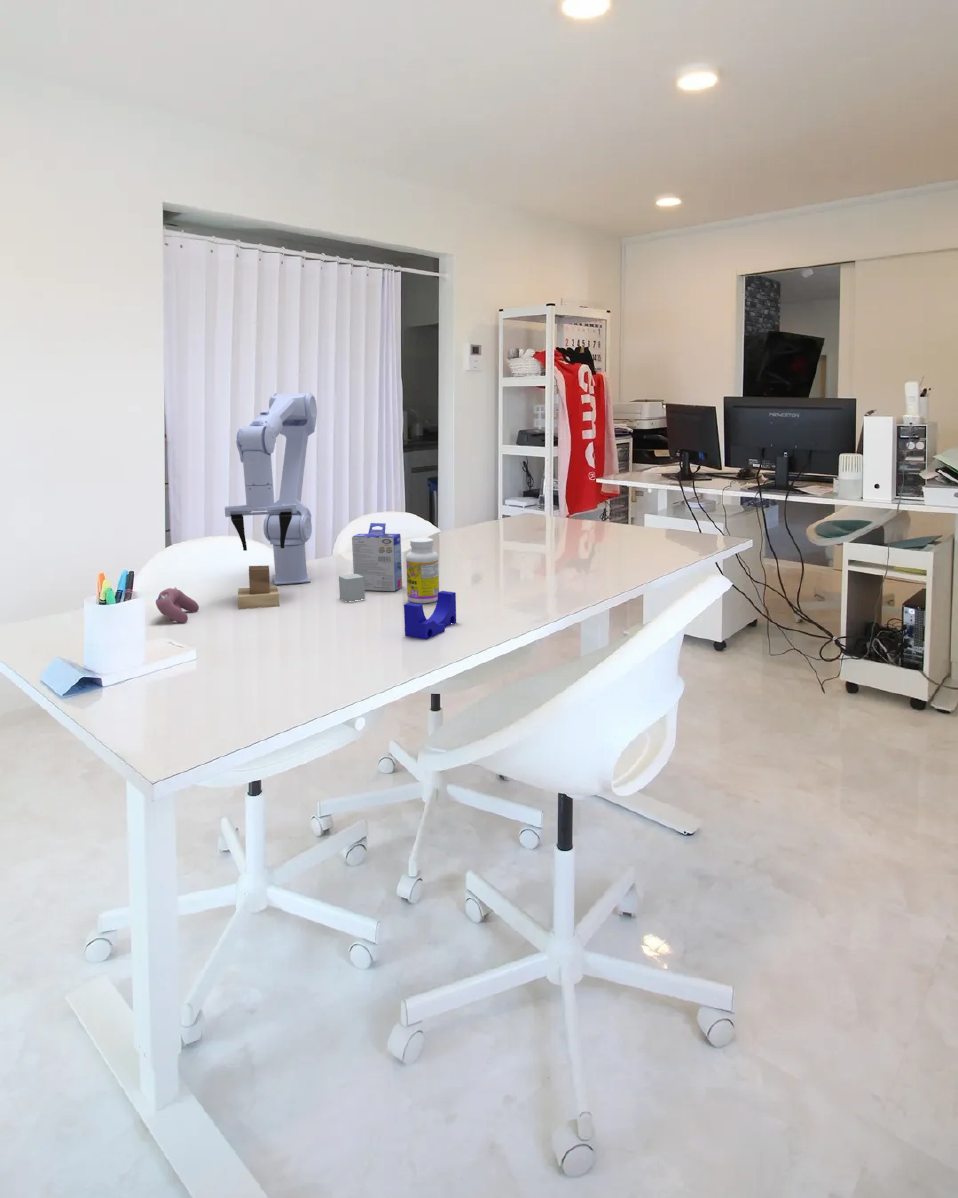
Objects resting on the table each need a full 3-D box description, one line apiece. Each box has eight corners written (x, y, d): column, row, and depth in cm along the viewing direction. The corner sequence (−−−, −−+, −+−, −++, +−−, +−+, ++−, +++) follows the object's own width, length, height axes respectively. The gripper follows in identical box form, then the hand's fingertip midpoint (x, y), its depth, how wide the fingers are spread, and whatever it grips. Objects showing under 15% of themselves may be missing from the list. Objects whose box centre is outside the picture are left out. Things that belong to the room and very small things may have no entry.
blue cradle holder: (425, 640, 142) (424, 607, 140) (405, 637, 144) (403, 604, 143) (462, 624, 152) (462, 593, 150) (443, 621, 154) (442, 590, 152)
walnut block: (249, 589, 169) (248, 565, 168) (269, 588, 170) (268, 565, 169) (249, 593, 165) (248, 569, 164) (269, 593, 166) (269, 569, 165)
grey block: (340, 598, 172) (338, 575, 171) (357, 596, 174) (356, 573, 173) (347, 602, 168) (346, 579, 167) (365, 600, 170) (363, 576, 169)
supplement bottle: (403, 598, 171) (401, 538, 168) (432, 595, 174) (431, 536, 170) (413, 605, 165) (411, 543, 162) (443, 602, 168) (442, 540, 165)
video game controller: (182, 618, 164) (162, 589, 162) (201, 608, 163) (182, 578, 162) (168, 632, 154) (147, 601, 152) (188, 621, 154) (168, 589, 152)
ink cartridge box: (403, 586, 182) (401, 522, 179) (396, 592, 177) (393, 526, 173) (361, 585, 184) (358, 521, 181) (353, 590, 179) (350, 525, 175)
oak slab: (239, 602, 172) (238, 588, 171) (277, 599, 174) (276, 585, 173) (239, 611, 164) (238, 596, 164) (279, 607, 166) (278, 593, 166)
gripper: (222, 487, 163) (228, 554, 166) (295, 484, 167) (300, 549, 170) (222, 484, 170) (228, 548, 173) (293, 481, 174) (297, 544, 177)
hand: (263, 548), depth 172 cm, fingers open, 7 cm apart
